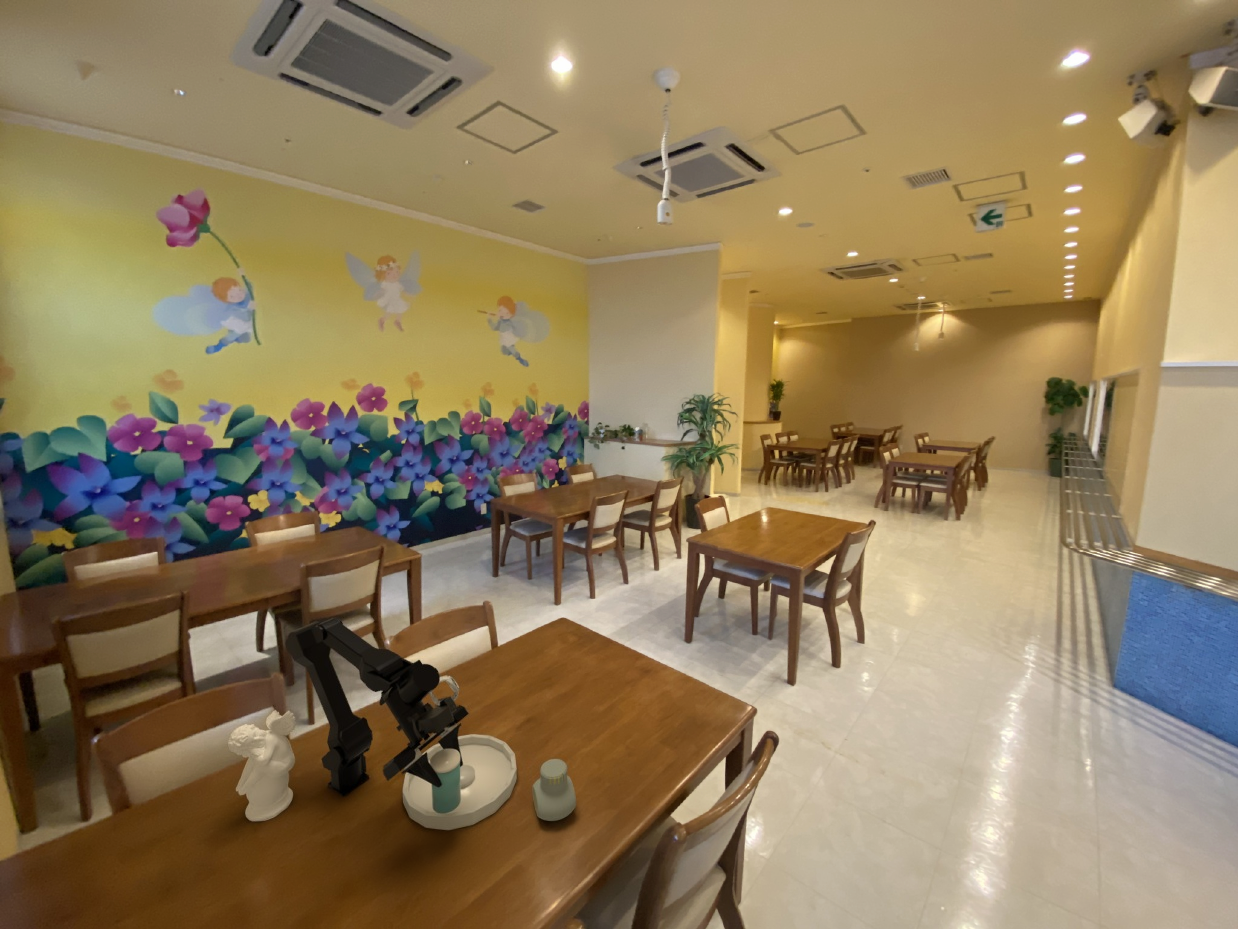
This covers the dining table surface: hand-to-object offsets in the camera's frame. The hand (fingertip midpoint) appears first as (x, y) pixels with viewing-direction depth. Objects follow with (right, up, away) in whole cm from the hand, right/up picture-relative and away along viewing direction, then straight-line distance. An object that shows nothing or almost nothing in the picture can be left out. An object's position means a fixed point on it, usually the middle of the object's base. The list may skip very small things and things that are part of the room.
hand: (451, 776), depth 101 cm
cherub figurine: (-43, -12, +10) cm, 46 cm away
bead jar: (-1, -6, +2) cm, 7 cm away
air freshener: (+20, -13, +9) cm, 25 cm away
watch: (-15, -8, +40) cm, 44 cm away
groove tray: (-3, -11, +16) cm, 20 cm away
